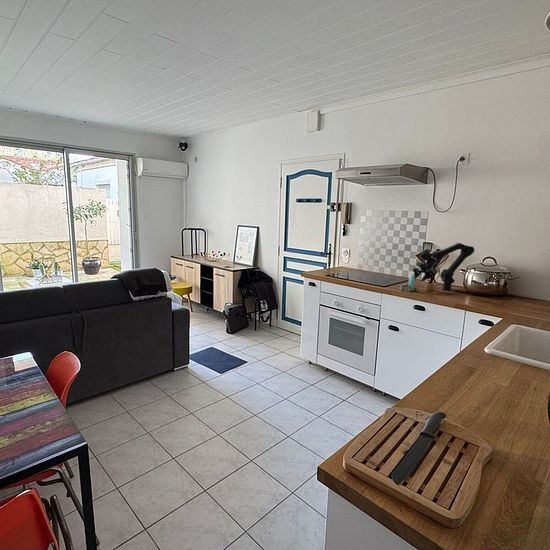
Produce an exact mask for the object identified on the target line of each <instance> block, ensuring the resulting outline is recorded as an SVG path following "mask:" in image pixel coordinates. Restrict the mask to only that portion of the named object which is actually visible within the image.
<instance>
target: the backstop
mask: <svg viewBox="0 0 550 550" xmlns="http://www.w3.org/2000/svg"><path fill="white" fill-rule="evenodd" d="M408 285H409V282H408V283H402V284H399V291H401V290H403V287H406V286H408Z"/></svg>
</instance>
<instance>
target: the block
mask: <svg viewBox="0 0 550 550" xmlns="http://www.w3.org/2000/svg"><path fill="white" fill-rule="evenodd" d="M403 290H404V291H403V292H406V291H408V292H407V293H412V292H411V288H408V286H406V287H403ZM417 291H418V287H417V286H414V292H417Z"/></svg>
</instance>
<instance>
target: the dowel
mask: <svg viewBox="0 0 550 550" xmlns="http://www.w3.org/2000/svg"><path fill="white" fill-rule="evenodd" d="M408 278H409V279H408V283H409V285H408V288H411V291H414V287H415V280H416V279H415V275H414V274H409V276H408ZM414 292H415V291H414Z"/></svg>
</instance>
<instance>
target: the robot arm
mask: <svg viewBox="0 0 550 550" xmlns="http://www.w3.org/2000/svg"><path fill="white" fill-rule="evenodd" d="M459 250H460V254H459V255H458V257H456V259H455V260H454V261H453V263H451V265H450V266H449V267H448V268H447V269H446V268H444V269H443V270H442V271H441V272H440V276H439V277H440V279H441V282H443V286H442V287H441V289H442V291H449V292H450V291H453V289H452V286H453V285H452V284H454V283H455V281H456V280H455V279H454V278H453V277H454V274H455V272H456V270H457V269H458V268H459V267H460V265H462V263H463V262H464V261H465V260H466V259H467V258H469V257H470V256H471V255H472V254H474V253H475V247H474V246H470V245H465V244H463V243H461V242H457V243H455V244H453V245H451V246H448V247H446V248H444V249H440V250H439V249H438V250H434V251H433V252H429V251H428V249H424V250H423V251H421V252H420V253H419V254H418V255H419V257H420V258H421V259H422V260H423V262H422V261H421V262H420V261H416V265H415V266H416V267H413V268H412V271H413V275H415V280H416V279H417V278H419V276H421V274H422V273H423V274H424V275H423V276H422V278H421V280H420V281H421V282H424V281H427V280H429V279H430V278H434V276H436V273H435V272H434V270H433V269H434V268H433V267H434V265H438V264H439V261H438V260H441V259H443V258H445V257H446V256H447V255H448V254H451V253H453V252H455V251H459Z"/></svg>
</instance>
